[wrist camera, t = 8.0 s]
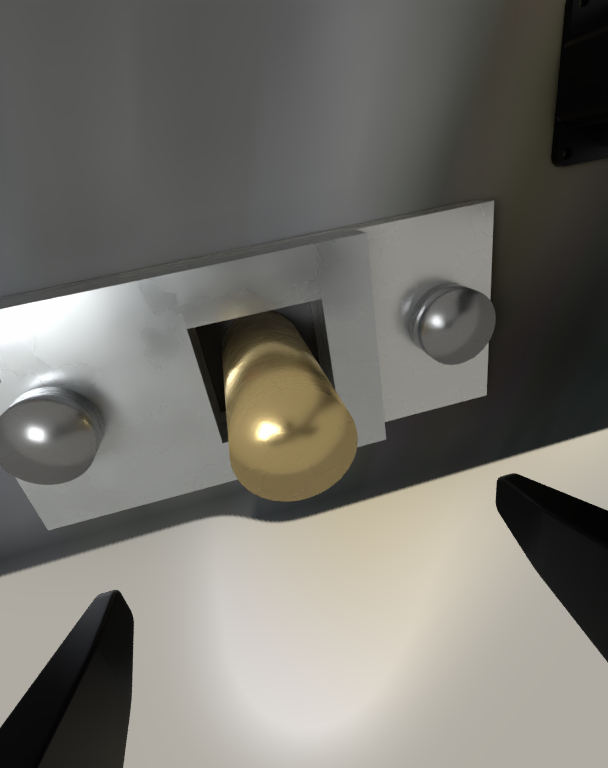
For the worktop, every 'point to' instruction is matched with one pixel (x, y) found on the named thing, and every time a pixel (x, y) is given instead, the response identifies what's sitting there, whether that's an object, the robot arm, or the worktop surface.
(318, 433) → the brass pin
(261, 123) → the worktop surface
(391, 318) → the plate with square hole
